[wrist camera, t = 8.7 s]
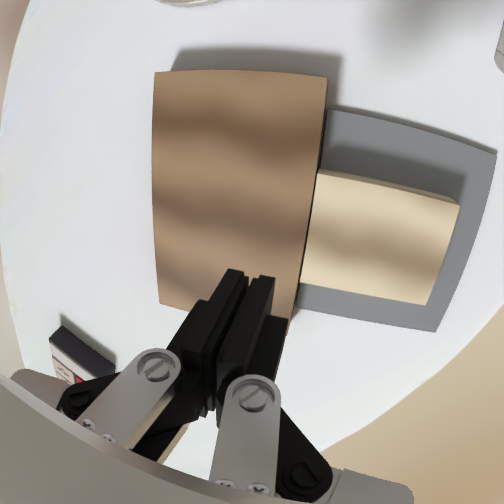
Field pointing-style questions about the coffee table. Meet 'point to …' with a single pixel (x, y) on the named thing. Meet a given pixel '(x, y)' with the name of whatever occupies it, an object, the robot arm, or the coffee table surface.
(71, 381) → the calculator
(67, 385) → the robot arm
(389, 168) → the rubber mat
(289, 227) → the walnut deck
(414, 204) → the oak tile
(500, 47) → the handheld gaming device
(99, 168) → the coffee table surface
